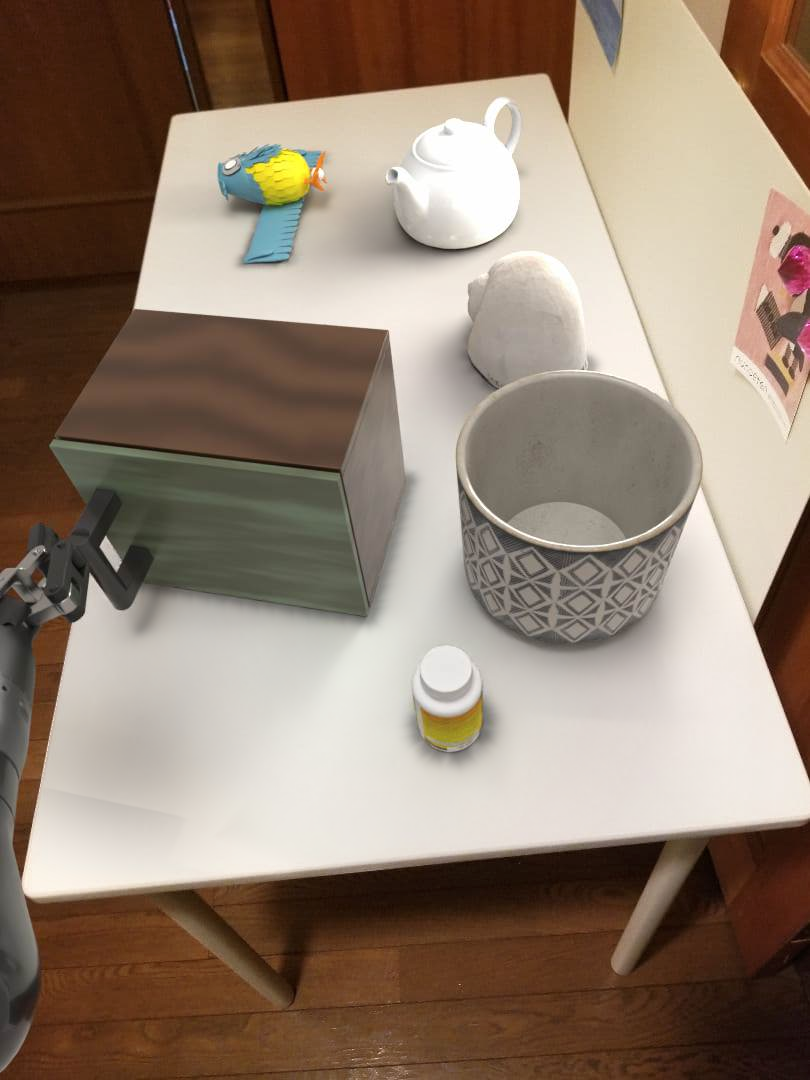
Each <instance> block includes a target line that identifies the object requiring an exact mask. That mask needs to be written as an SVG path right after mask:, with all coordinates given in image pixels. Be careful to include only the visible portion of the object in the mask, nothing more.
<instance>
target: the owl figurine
mask: <svg viewBox="0 0 810 1080" xmlns="http://www.w3.org/2000/svg"><path fill="white" fill-rule="evenodd" d="M325 156H326V151H323V152H322V151H321V150H315V151H313V150H312V151H306V150H305V149H300V148H299V149H288V148H283V147H282V144H279V143H274V144H272V145H270V144H269V143H267V144H264V145H263V146H261V147H259V146H256V147H255V148H253V149H252V150H251V151H249V152H248V153H247V152H246V151H243V152H242V153H239V154H236V155H233V156H230V157H229V158H228V159H227V160H225V161H224V162H218V163H217V172H216V173H217V176H216V177H217V181H218V186H219V190H220V192H221V195H222V196H223V197H225V200H226V201H227V202H229V201H230V197H229V195H230V196H233V197H236V198H239V199H242V200H246V201H250V202H254V203H257V204H258V203H259V204H261V205H263V206H262V209H261V212H260V215H259V218H258V220H257V225H256V229H255V230H254V234H253V237H252V240H251V243H250V246H249V250H248V252H247V253H245V255H244V257H243V264H245V265H246V264H253V263H261V264H266V263H268V262H270V263H271V262H281V261H285V260H288V258H289V257H290V254H289V253H290V252H292V250H293V248H292V246H291V245H293V244H294V240H293V238H295V233H294V232H296V231H297V227H296V226H297V225H298V224H299V222H298V220H299V219H300V215H299V214H300V213H301V212H302V209H301V208H303V206H304V204H303V202H304V201H305V197H304V196H305V195H307V194H308V192H309V191H310V187H311V186H313V187H314V188H316V190H319V191H321V192H326V189H325V188H324V187H323V185H321V182H323V183H324V184H328V182H327V179H326V177H325V172H324V170H323V166H324V158H325Z"/></svg>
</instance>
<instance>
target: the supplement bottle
mask: <svg viewBox="0 0 810 1080" xmlns="http://www.w3.org/2000/svg"><path fill="white" fill-rule="evenodd" d="M411 676H412V677H411V693H412V699H413V706H414V712H415V717H416V724H417V729H418V731H419V734H420V735H421V737H422V739H423V740H424V741H425V742H426V743H427V744H428V745H429V746H431V747H432V748H433V749H436V750H439V751H441V752H446V753H453V752H454V753H455V752H459V751H462V750H465V749H467V748H468V747H470V746H471V745H472V744H473V743H474V742H475V741H476V740H477V739H478V738H479V736H480V734H481V731H482V728H483V720H484V717H483V716H484V715H483V714H484V713H483V712H484V710H483V709H484V708H483V707H484V705H483V702H484V701H483V699H484V698H483V695H484V694H483V693H484V691H483V690H484V689H483V688H484V685H483V684H484V683H483V677H482V673H481V670H480V668H479V666H478V665H477V664H476V663H475V661H474V660H473V659H472V658H470V657H469V655H468V654H467V653H466V652H465V651H464V650H463V649H461V648H459V647H458V646H454V645H449V644H443V645H438V646H435V647H433V648H431V649H430V650H428V651H426V653H425V654H424V656H423V657H422V659H421V660H420V661H419V663H418V664H417V666H416V667H415V668H414V671H413V674H412V675H411Z"/></svg>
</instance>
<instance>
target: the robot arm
mask: <svg viewBox="0 0 810 1080" xmlns="http://www.w3.org/2000/svg"><path fill="white" fill-rule="evenodd" d="M68 538H69V537H68ZM68 538H67V537H66V538H63V539H61V537H60V536H59V535H58V533H56V531H55V530H54V528H53V527H52V526H51V525H50V524H49V525H47V526H46V525H45V524H44V523H42V522H41V521H39V522H38V523H35V524H34V525H31V526H30V528H29V533H28V542H27V548H26V553H27V554H26V555H25V557H24V558H22V560H21V561H20V562H19V563H18V564H17V566H16V567H9V568H8V567H7V568H5V569H3V570H2V571H1V572H0V1073H2V1072H3V1071H4V1070H5V1069H6V1068H7V1067H8V1066H9V1064H10V1063H11V1062H12V1060H13V1059H14V1058H15V1056H16V1055H17V1054H18V1052H19V1051H20V1049H21V1047H22V1045H23V1044H24V1042H25V1040H26V1038H27V1036H28V1034H29V1031H30V1029H31V1026H32V1024H33V1022H34V1019H35V1015H36V1014H37V1010H38V1006H39V1002H40V998H41V993H42V992H41V991H42V985H43V984H42V983H43V969H42V967H43V966H42V959H41V954H40V953H41V952H40V948H39V944H38V941H37V937H36V934H35V931H34V927H33V923H32V921H31V917H30V912H29V908H28V905H27V901H26V898H25V897H26V896H25V893H24V889H23V883H22V879H21V876H20V870H19V867H18V863H17V859H16V855H15V851H14V846H13V845H14V844H13V838H14V832H15V821H16V814H17V806H18V805H17V803H18V794H19V787H20V781H21V778H22V775H23V771H24V769H25V765H26V762H27V756H28V752H29V744H30V734H31V724H32V723H31V722H32V714H33V705H34V695H35V687H36V686H35V684H36V677H37V676H36V674H37V668H36V667H37V666H36V659H35V653H34V649H33V643H34V641H35V639H36V638H37V636H38V634H40V633H39V632H40V631H41V629H42V625H43V624H44V623H47V622H49V621H52V620H53V619H56V618H58V617H60V616H62V617H63V618H64V620H65V621H66V622H67V623H69V624H73V623H76V622H78V621H79V620H81V619H82V618H83V617H84V616H85V614H86V608H87V599H88V591H89V584H90V583H89V582H90V575H91V574H90V565H89V564H88V563H87V561H86V560H85V559H84V557H83V556H82V555H81V554H80V552H79V551H78V550H77V549H76V547H75V546H74V545H73V544H72V542H71V541H70V540H69V539H68ZM36 570H38V571H39V572H40V574H41V575H42V577H43V578H41V580H40V581H39V582H38V584H37V582H35V580H34V579H33V577H32V576H33V573H34V572H35V571H36ZM11 588H12V589H13V590H14V591H15V592H16V594H17V595H18V596H19V597H20V598H21V599H18V598H16V597H13V596H11V595H9V594H7V593H8V592H9V590H11Z"/></svg>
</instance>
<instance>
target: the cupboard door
mask: <svg viewBox="0 0 810 1080" xmlns="http://www.w3.org/2000/svg"><path fill="white" fill-rule="evenodd" d="M48 446H49V448H50V450H51V451H52V453H53V455H54V456H55V458H56V459H57V462H59V464H60V465H61V468H62V469H63V470H64V472H65V473H66V475H67V477H68V478H69V480H70V482H71V483H72V485H73V486H74V488H75V489H76V491H77V492H78V494H79V496H80V498H81V499H82V500H83V502H84V504H85V508H84V509H83V511H82V513H81V515H80V516H79V518H78V520H77V522H76V523H75V525H74V527H73V529H72V530H71V532H70V534H69V536H68V539H69V540H70V541H71V542H72V544H73V545H74V546H75V547H76V549H77V550H78V551H79V552H80V554H81V555H82V556H83V557H84V559H85V560H86V561H87V563H88V564H89V565H90V575H91V577H92V578H93V579H94V581H95V582H96V583H97V585H98V587H99V588H100V589H101V591H102V592H103V594H104V595H105V596H106V598H107V599H108V601H109V602H110V603H111V605H112V606H113V608H114V609H115V610H117V611H120V612H121V611H122V612H123V611H127V610H128V609H129V608H130V607H132V605H133V604H134V601H135V599H136V598H137V595H138V593H139V591H140V589H141V587H142V585H143V583H145V584H152V585H160V586H165V587H171V588H179V589H186V590H191V591H197V592H204V593H211V594H216V595H224V596H230V597H236V598H242V599H243V598H244V599H249V600H258V601H263V602H270V603H276V604H283V605H289V606H295V607H302V608H309V609H316V610H323V611H327V612H328V611H329V612H334V613H342V614H348V615H355V616H361V617H368V615H369V612H370V608H369V607H368V602H367V598H366V593H365V588H364V584H363V579H362V574H361V570H360V565H359V561H358V556H357V551H356V547H355V542H354V537H353V533H352V528H351V524H350V519H349V514H348V510H347V505H346V500H345V496H344V491H343V486H342V482H341V477H340V473H333V472H325V471H316V470H308V469H299V468H291V467H283V466H274V465H266V464H258V463H249V462H241V461H232V460H224V459H216V458H207V457H199V456H190V455H182V454H174V453H165V452H157V451H148V450H140V449H132V448H123V447H115V446H106V445H98V444H90V443H81V442H73V441H64V440H57V439H56V438H54V439H52V441H51V442H50V444H49V445H48ZM105 538H107V540H108V542H109V543H110V544H111V546H112V547H113V550H114V551H115V552H116V554H117V556H118V557H119V559H120V560H121V563H120V564H119V566H118V568H117V570H116V569H115V568H114V566H113V565H112V563H111V562H110V560H109V558H108V557H107V556H106V554H105V553H104V551H103V550H102V548H101V545H102V543H103V541H104V539H105Z"/></svg>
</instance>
